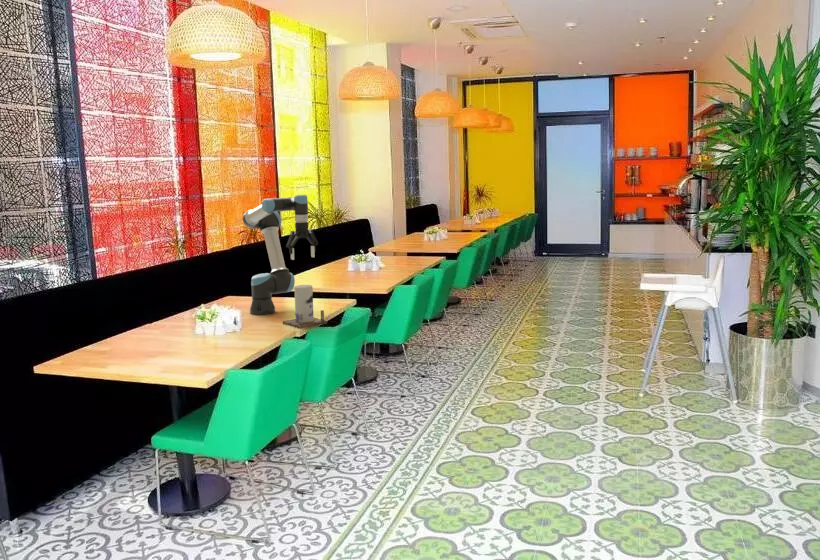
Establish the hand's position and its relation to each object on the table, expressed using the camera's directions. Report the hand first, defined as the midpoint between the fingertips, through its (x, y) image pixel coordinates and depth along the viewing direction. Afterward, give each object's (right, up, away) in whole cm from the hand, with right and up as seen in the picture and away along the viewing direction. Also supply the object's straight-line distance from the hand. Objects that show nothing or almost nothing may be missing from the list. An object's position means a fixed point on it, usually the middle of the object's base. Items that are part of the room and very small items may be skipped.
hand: (302, 258), depth 425 cm
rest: (+3, -37, -12) cm, 39 cm away
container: (+3, -36, -12) cm, 38 cm away
